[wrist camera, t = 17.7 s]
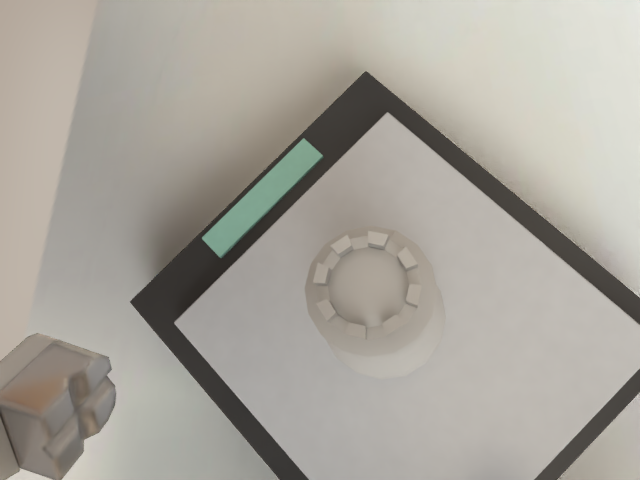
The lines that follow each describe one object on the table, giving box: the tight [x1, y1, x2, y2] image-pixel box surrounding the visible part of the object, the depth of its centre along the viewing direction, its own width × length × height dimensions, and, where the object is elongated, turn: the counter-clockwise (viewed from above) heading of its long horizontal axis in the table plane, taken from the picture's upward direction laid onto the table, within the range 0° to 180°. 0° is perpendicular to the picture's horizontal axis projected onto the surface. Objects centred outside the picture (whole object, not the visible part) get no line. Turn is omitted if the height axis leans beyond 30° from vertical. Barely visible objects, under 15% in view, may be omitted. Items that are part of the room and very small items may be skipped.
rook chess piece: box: [305, 226, 446, 380], centre depth 17 cm, size 4×4×8 cm
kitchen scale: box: [130, 72, 640, 480], centre depth 22 cm, size 16×14×4 cm
